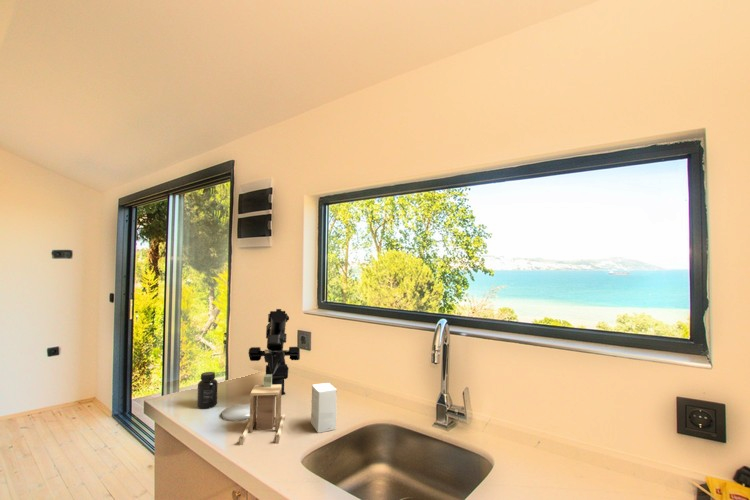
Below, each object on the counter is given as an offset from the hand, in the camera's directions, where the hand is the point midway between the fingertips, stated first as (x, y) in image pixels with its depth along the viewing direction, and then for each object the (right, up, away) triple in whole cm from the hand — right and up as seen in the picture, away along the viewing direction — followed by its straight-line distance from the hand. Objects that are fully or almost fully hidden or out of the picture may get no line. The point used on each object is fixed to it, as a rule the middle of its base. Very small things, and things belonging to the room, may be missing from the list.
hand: (272, 374), depth 135 cm
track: (+2, -13, -16) cm, 21 cm away
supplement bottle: (-25, -13, +3) cm, 29 cm away
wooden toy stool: (+2, -13, -13) cm, 19 cm away
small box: (+21, -13, -13) cm, 28 cm away
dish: (-10, -13, -4) cm, 17 cm away
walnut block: (+2, -13, -13) cm, 19 cm away
